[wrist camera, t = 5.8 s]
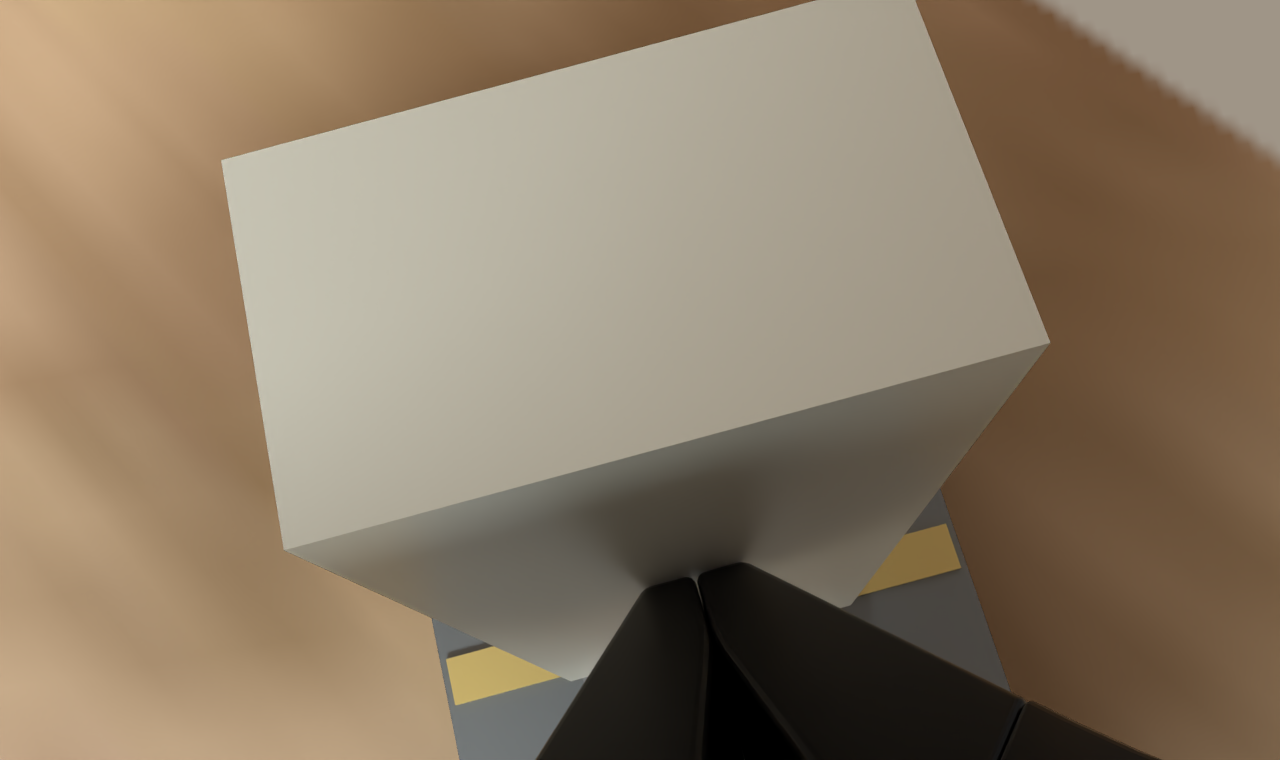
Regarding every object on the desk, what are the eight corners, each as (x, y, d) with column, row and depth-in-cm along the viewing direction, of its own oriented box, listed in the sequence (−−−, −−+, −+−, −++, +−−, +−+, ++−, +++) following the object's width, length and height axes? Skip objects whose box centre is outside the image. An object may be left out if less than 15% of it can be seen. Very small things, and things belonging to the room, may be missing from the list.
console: (1215, 1349, 14) (1412, 1595, 10) (631, 1511, 14) (588, 1824, 10) (808, 163, 19) (828, 2, 15) (381, 278, 19) (284, 147, 15)
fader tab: (872, 708, 15) (1154, 609, 5) (603, 781, 15) (331, 833, 5) (772, 386, 16) (833, -210, 6) (526, 453, 16) (190, -38, 6)
